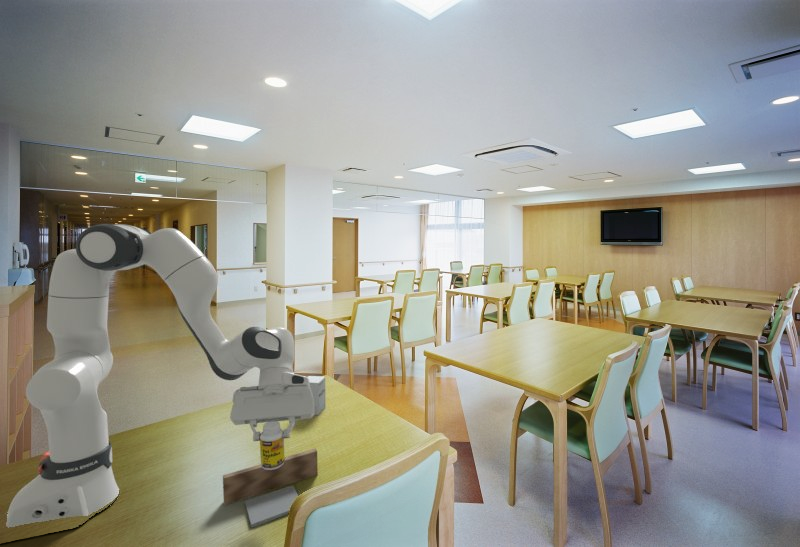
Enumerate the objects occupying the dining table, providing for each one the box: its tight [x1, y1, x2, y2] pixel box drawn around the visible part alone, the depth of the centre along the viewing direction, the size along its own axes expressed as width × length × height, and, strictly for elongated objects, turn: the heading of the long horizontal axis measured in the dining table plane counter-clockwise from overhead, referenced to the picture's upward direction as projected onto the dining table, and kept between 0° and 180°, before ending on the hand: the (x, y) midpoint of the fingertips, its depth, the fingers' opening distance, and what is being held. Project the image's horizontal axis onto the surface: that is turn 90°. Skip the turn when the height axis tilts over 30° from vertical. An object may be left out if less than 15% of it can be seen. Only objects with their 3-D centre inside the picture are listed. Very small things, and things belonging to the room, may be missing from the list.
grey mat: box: [244, 485, 299, 528], centre depth 92 cm, size 12×9×1 cm
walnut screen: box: [222, 448, 319, 506], centre depth 99 cm, size 24×2×7 cm, turn 121°
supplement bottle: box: [259, 421, 286, 470], centre depth 91 cm, size 6×6×10 cm
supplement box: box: [306, 375, 327, 416], centre depth 145 cm, size 7×7×13 cm
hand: (271, 439), depth 90 cm, fingers closed on supplement bottle, 6 cm apart
